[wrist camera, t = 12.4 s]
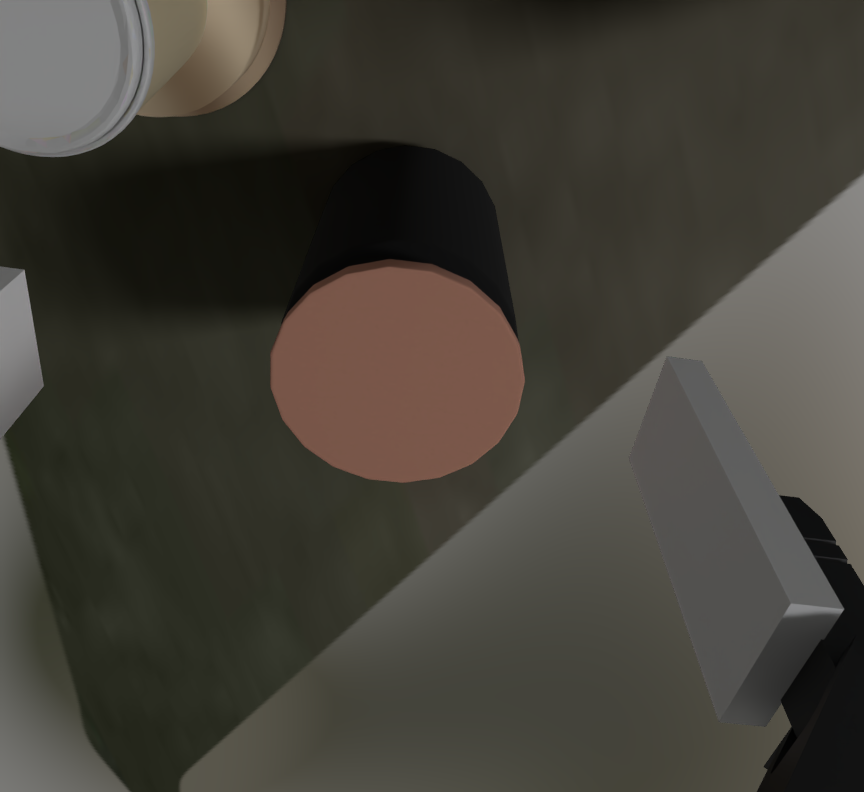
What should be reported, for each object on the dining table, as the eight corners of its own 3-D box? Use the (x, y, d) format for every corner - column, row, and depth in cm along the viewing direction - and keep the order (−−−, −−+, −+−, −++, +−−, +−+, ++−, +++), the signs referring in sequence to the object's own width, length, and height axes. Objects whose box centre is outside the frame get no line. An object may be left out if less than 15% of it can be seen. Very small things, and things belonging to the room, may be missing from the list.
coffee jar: (287, 213, 46) (213, 365, 31) (425, 100, 42) (417, 210, 27) (398, 334, 50) (381, 519, 35) (531, 242, 46) (575, 405, 31)
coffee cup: (0, -136, 33) (-192, -153, 23) (214, -124, 33) (116, -136, 23) (51, 89, 38) (-88, 156, 28) (235, 98, 38) (163, 168, 28)
